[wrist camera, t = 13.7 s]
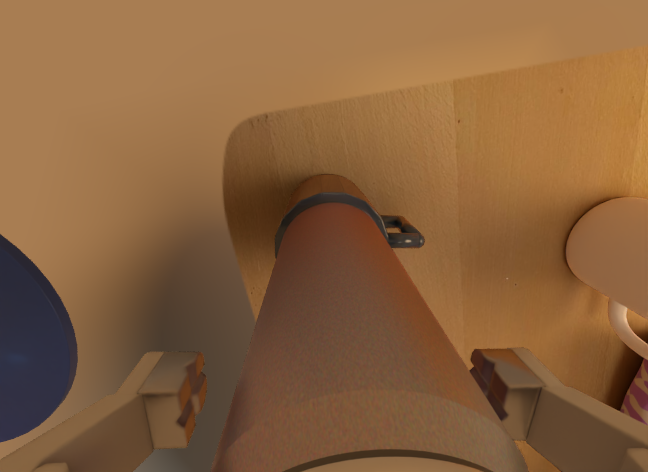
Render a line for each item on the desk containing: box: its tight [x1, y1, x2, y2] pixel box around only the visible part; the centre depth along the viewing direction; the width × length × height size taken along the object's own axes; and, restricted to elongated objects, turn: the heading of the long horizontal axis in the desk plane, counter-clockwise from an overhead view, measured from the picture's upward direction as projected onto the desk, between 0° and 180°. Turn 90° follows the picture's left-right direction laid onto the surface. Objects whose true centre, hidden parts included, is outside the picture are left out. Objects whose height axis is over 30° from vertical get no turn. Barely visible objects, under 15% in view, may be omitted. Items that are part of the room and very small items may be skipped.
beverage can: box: [210, 203, 529, 472], centre depth 12 cm, size 6×6×15 cm
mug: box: [275, 174, 425, 258], centre depth 23 cm, size 10×7×8 cm
